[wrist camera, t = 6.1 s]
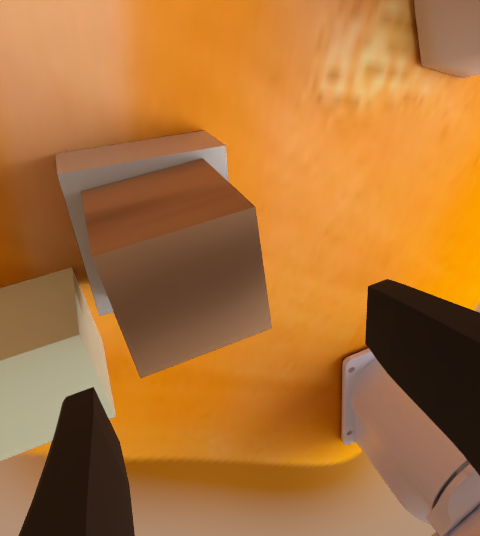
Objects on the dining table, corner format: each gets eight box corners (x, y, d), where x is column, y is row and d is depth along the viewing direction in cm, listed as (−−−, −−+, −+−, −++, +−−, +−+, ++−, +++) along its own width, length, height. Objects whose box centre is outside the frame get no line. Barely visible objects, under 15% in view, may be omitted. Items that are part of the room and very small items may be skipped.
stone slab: (215, 249, 21) (236, 279, 19) (92, 279, 20) (99, 315, 17) (202, 128, 18) (225, 145, 16) (55, 151, 17) (56, 174, 14)
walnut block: (222, 259, 18) (272, 328, 14) (119, 293, 17) (140, 378, 13) (202, 158, 16) (255, 206, 12) (80, 191, 15) (91, 257, 11)
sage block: (102, 340, 21) (115, 416, 17) (7, 373, 20) (-2, 462, 16) (72, 266, 19) (79, 334, 15) (-38, 298, 18) (-63, 381, 14)
